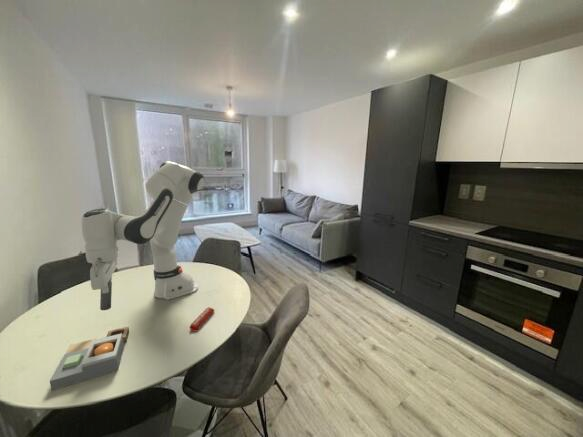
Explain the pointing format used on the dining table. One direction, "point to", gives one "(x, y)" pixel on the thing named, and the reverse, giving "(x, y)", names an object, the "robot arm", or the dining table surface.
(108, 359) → the grey boxy piece
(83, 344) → the pad
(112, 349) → the plunger
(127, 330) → the stand
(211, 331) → the dining table surface
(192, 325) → the candy bar
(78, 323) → the dining table surface
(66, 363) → the on button
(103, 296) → the grey rounded rod
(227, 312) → the dining table surface
